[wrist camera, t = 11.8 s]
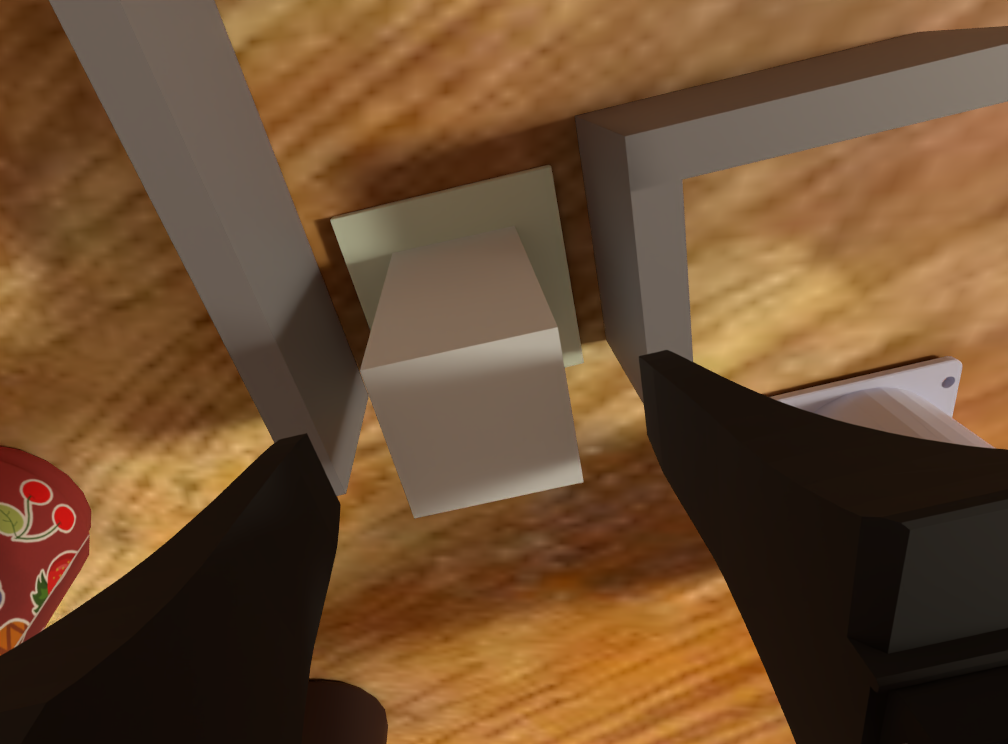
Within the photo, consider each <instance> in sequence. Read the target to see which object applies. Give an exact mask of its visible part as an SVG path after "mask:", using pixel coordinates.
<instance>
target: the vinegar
mask: <svg viewBox="0 0 1008 744" xmlns="http://www.w3.org/2000/svg"><path fill="white" fill-rule="evenodd" d="M387 730H388V724H387V718H386V713H385V709H384V708H383V707H382V705H381V704H380V703H379V701H378V700H377V699H376V698H375V697H374V696H372V695H371V694H369V693H367V692H366V691H364V690H363V689H361V688H359V687H356V686H352V685H349V684H346V683H343V682H334V681H324V680H322V681H310V682H308V689H307V697H306V705H305V713H304V723H303V733H302V743H301V744H386V742H387Z"/></svg>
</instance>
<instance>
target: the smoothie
mask: <svg viewBox="0 0 1008 744" xmlns="http://www.w3.org/2000/svg"><path fill="white" fill-rule="evenodd" d="M90 528H91V509H90V507H89V505H88V502H87V500H86V498H85V496H84V493H83V492H82V491H81V490H80V488H79V487H78V486H77V485H76V484H75V483H74V482H73V481H72V479H71V478H70V477H69V476H68V475H67V474H65V473H64V472H62V471H61V470H59V469H58V468H56V467H55V466H53V465H52V464H50V463H49V462H47V461H46V460H43V459H41V458H39V457H36V456H34V455H31V454H29V453H26V452H24V451H21V450H19V449H13V448H7V447H2V446H0V656H1V655H2V654H4V653H6V652H8V651H9V650H11V649H13V648H14V647H16V646H18V645H19V644H21V643H23V642H25V641H26V640H28V639H30V638H31V637H33V636H35V635H36V634H38V633H39V632H41V631H43V630H44V628H45V626H46V625H47V623H48V621H49V620H50V618H51V617H52V615H53V613H54V612H55V610H56V609H57V607H58V605H59V604H60V602H61V601H62V599H63V597H64V596H65V594H66V592H67V591H68V589H69V588H70V586H71V584H72V583H73V581H74V580H75V578H76V576H77V575H78V573H79V572H80V570H81V568H82V567H83V565H84V563H85V561H86V559H87V557H88V556H89V530H90Z"/></svg>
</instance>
